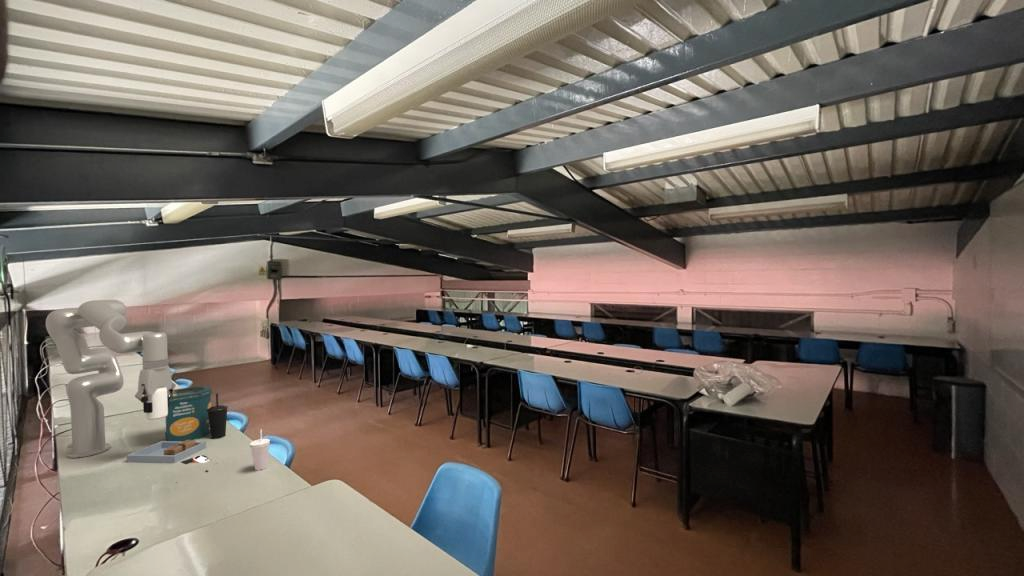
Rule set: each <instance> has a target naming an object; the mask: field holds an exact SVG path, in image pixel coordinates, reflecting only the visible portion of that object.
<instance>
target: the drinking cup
mask: <svg viewBox="0 0 1024 576" xmlns="http://www.w3.org/2000/svg"><path fill="white" fill-rule="evenodd" d="M215 400H216V401H215V405H211V407H210V408H209V409H207V412H208V418H209V424H210V431H211V434H210V436H211V439H212V440H217V439H222V438H224V437H226V431H227V421H228V420H227V419H228V417H227V416H228V408H229V406H228V405H225V404H219V393H215Z"/></svg>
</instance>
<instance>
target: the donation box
mask: <svg viewBox="0 0 1024 576" xmlns="http://www.w3.org/2000/svg"><path fill="white" fill-rule="evenodd" d="M211 395H212V388H211V387H210V386H209V385H196V386H191V387H190V386H188V387H183V388H177V389H175V388H174V389H173V391H172V393H171V396H170V397H169V407H168V415H167V416H166V417H165V432H164V434H165V435H164V436H165V441H182V442H183V441H186V440H199V439H203V438H205V437H207V436H209V435H211V431H210V424H209V418H208V412H207V409H209V408H210V407H212V403H211V402H212V399H211V398H212V397H211Z"/></svg>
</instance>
